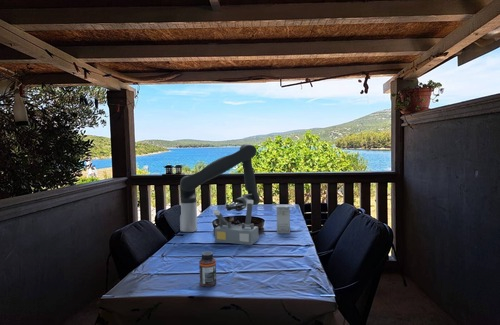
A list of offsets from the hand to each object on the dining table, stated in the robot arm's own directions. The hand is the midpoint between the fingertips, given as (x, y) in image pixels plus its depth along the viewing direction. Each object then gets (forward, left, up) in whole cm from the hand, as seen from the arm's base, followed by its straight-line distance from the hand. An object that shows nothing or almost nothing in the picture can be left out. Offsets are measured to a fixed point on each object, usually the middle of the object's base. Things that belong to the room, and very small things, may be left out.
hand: (228, 208), depth 173 cm
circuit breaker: (+24, +25, -16) cm, 38 cm away
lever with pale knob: (0, -4, -7) cm, 8 cm away
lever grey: (+13, -4, -7) cm, 15 cm away
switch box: (+7, -4, -16) cm, 18 cm away
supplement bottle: (+19, -57, -16) cm, 62 cm away
